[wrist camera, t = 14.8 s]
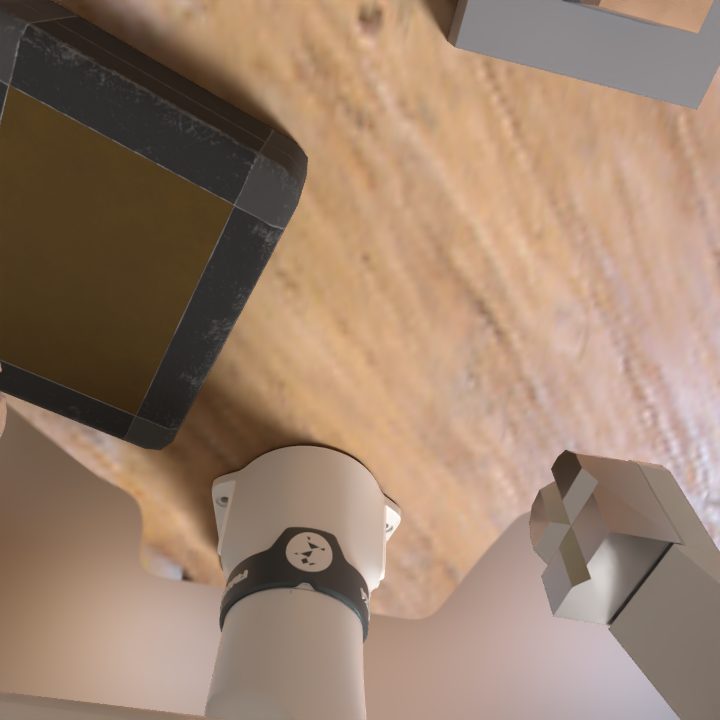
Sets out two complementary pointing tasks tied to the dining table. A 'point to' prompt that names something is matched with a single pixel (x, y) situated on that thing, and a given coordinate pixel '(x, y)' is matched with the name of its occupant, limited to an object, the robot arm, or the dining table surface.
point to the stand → (594, 46)
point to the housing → (654, 11)
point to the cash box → (124, 224)
